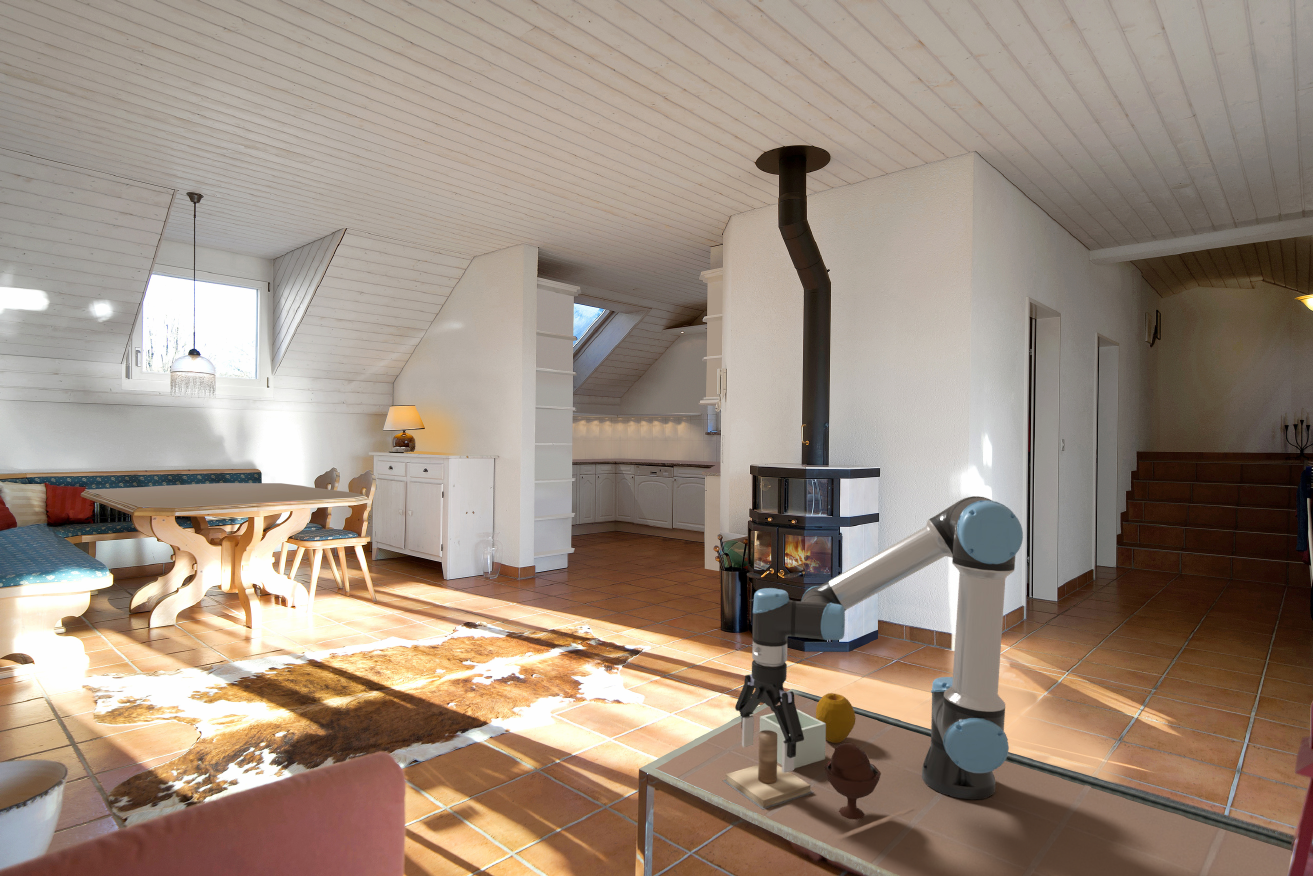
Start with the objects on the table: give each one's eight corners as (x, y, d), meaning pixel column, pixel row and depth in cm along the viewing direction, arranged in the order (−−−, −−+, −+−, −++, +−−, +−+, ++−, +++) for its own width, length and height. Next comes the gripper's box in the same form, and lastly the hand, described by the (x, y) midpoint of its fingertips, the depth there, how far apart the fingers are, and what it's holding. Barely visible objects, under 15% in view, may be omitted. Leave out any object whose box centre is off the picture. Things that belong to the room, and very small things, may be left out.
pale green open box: (825, 761, 173) (825, 723, 173) (789, 772, 168) (790, 733, 167) (793, 743, 183) (794, 708, 182) (759, 753, 177) (759, 716, 177)
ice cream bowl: (882, 833, 143) (884, 757, 143) (824, 826, 145) (825, 751, 145) (877, 805, 153) (878, 734, 153) (822, 799, 156) (824, 729, 155)
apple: (861, 740, 185) (862, 694, 185) (841, 752, 178) (842, 704, 178) (828, 729, 192) (829, 684, 192) (807, 739, 185) (808, 693, 185)
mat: (813, 795, 157) (813, 792, 157) (762, 812, 150) (762, 809, 150) (771, 768, 169) (771, 766, 169) (722, 783, 162) (722, 780, 162)
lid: (810, 792, 157) (811, 739, 157) (763, 807, 151) (764, 752, 151) (771, 767, 169) (771, 717, 168) (725, 781, 162) (726, 729, 162)
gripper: (721, 647, 168) (719, 739, 168) (795, 682, 147) (792, 786, 147) (747, 643, 172) (745, 733, 172) (822, 676, 150) (820, 778, 151)
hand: (767, 758), depth 160 cm, fingers open, 13 cm apart
